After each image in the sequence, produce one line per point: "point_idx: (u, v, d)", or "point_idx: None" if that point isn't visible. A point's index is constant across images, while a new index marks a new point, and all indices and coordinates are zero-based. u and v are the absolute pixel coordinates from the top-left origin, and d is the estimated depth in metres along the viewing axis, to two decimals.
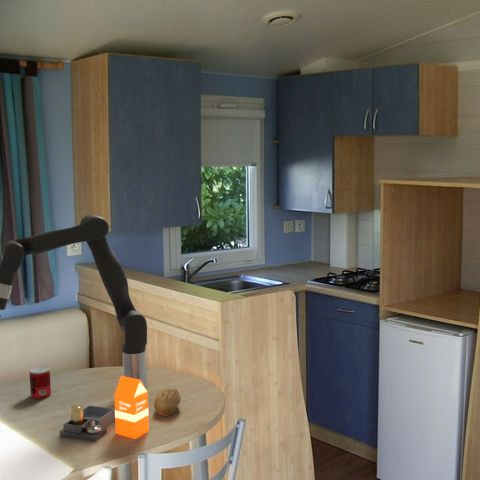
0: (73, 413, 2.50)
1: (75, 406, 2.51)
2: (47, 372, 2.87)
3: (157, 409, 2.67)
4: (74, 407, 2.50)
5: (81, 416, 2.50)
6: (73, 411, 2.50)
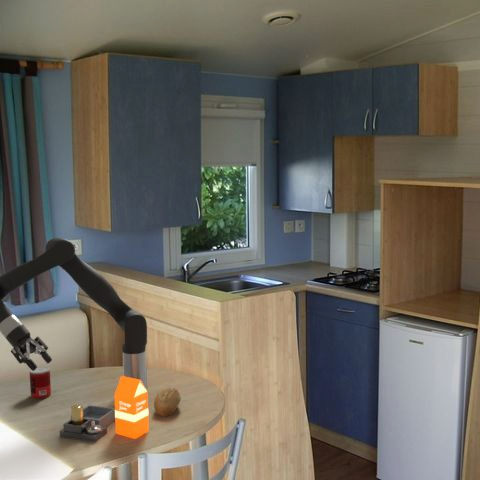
0: (73, 413, 2.50)
1: (75, 406, 2.51)
2: (47, 372, 2.87)
3: (157, 409, 2.67)
4: (74, 407, 2.50)
5: (81, 416, 2.50)
6: (73, 411, 2.50)
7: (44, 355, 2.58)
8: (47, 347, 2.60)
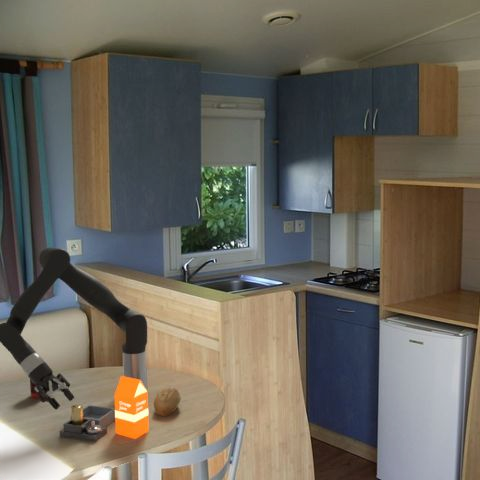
0: (73, 413, 2.50)
1: (75, 406, 2.51)
2: None
3: (157, 409, 2.67)
4: (74, 407, 2.50)
5: (81, 416, 2.50)
6: (73, 411, 2.50)
7: (67, 392, 2.57)
8: (69, 384, 2.59)
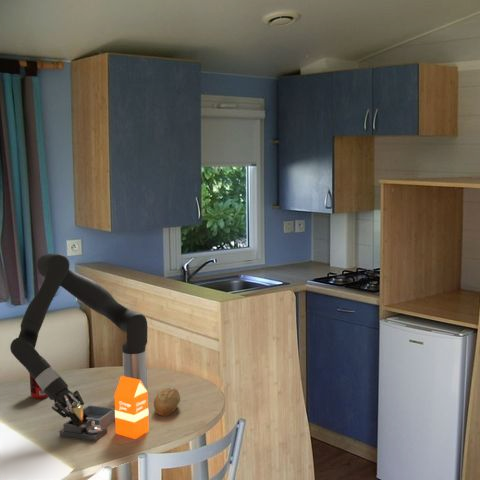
0: None
1: (75, 406, 2.51)
2: None
3: (157, 409, 2.67)
4: (74, 407, 2.50)
5: (81, 416, 2.50)
6: (73, 411, 2.50)
7: None
8: (83, 403, 2.56)
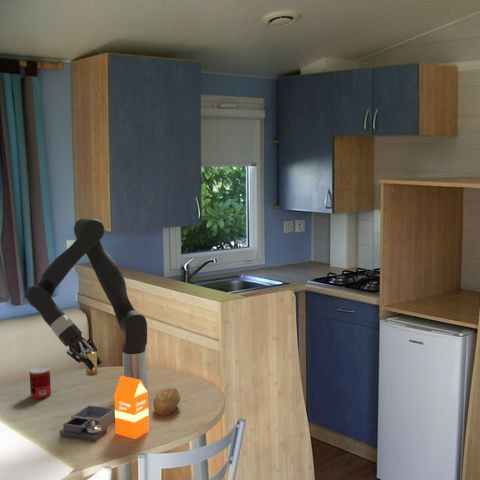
0: (87, 358, 2.57)
1: (89, 352, 2.58)
2: (47, 372, 2.87)
3: (156, 408, 2.67)
4: (88, 353, 2.57)
5: (95, 361, 2.58)
6: (87, 356, 2.57)
7: None
8: (96, 350, 2.63)
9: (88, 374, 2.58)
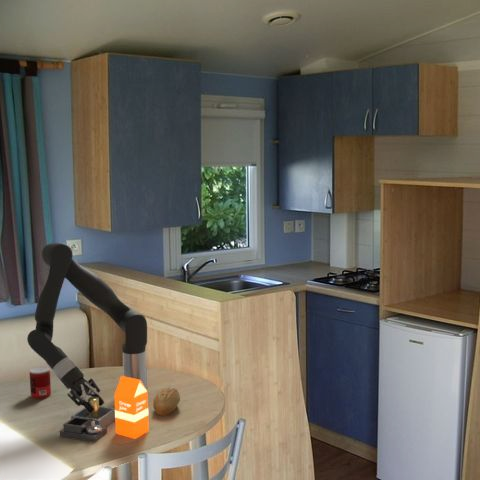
0: None
1: (91, 398, 2.61)
2: (47, 372, 2.87)
3: (156, 408, 2.68)
4: (90, 399, 2.60)
5: (97, 408, 2.60)
6: None
7: None
8: (99, 390, 2.66)
9: None
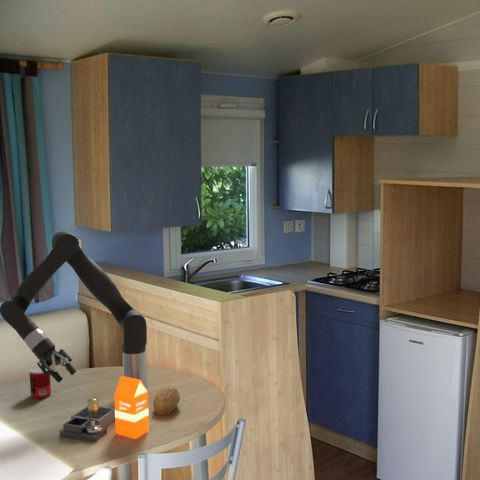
0: (89, 405, 2.59)
1: (91, 398, 2.61)
2: None
3: (156, 408, 2.68)
4: (90, 399, 2.60)
5: (97, 408, 2.60)
6: (89, 403, 2.59)
7: (69, 366, 2.67)
8: (71, 359, 2.70)
9: None
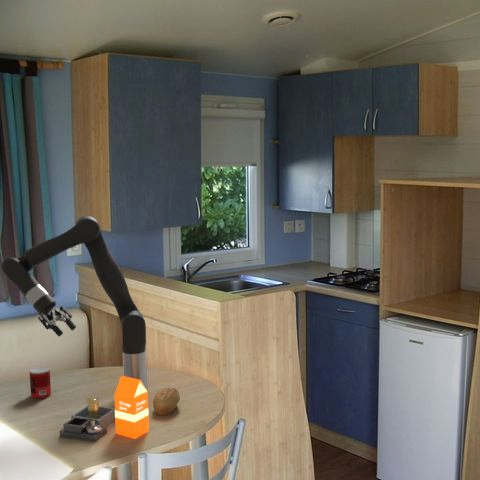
0: (89, 405, 2.59)
1: (91, 398, 2.61)
2: (47, 372, 2.87)
3: (156, 408, 2.68)
4: (90, 399, 2.60)
5: (97, 408, 2.60)
6: (89, 403, 2.59)
7: (69, 322, 2.74)
8: (71, 315, 2.76)
9: None
